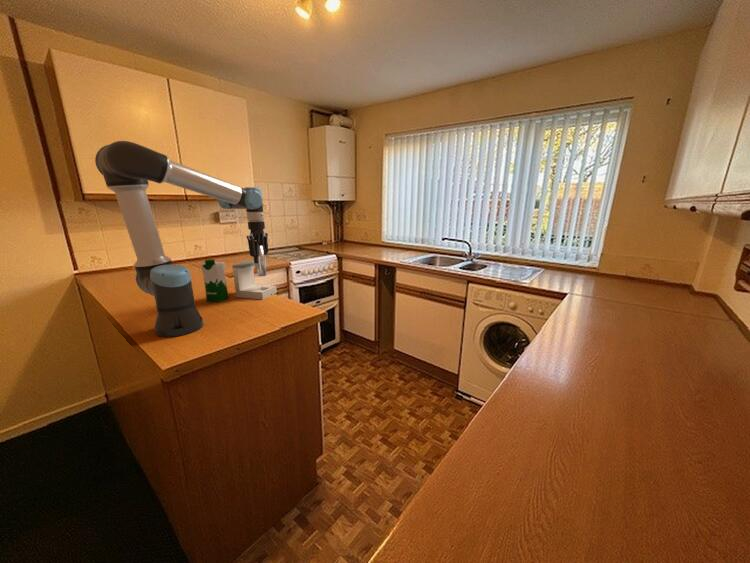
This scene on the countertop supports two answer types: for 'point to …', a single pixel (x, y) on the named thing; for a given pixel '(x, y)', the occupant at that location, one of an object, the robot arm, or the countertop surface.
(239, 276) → the l-shaped bracket
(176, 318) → the robot arm
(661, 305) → the countertop surface
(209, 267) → the milk carton
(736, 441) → the countertop surface
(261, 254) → the peg
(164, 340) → the countertop surface
